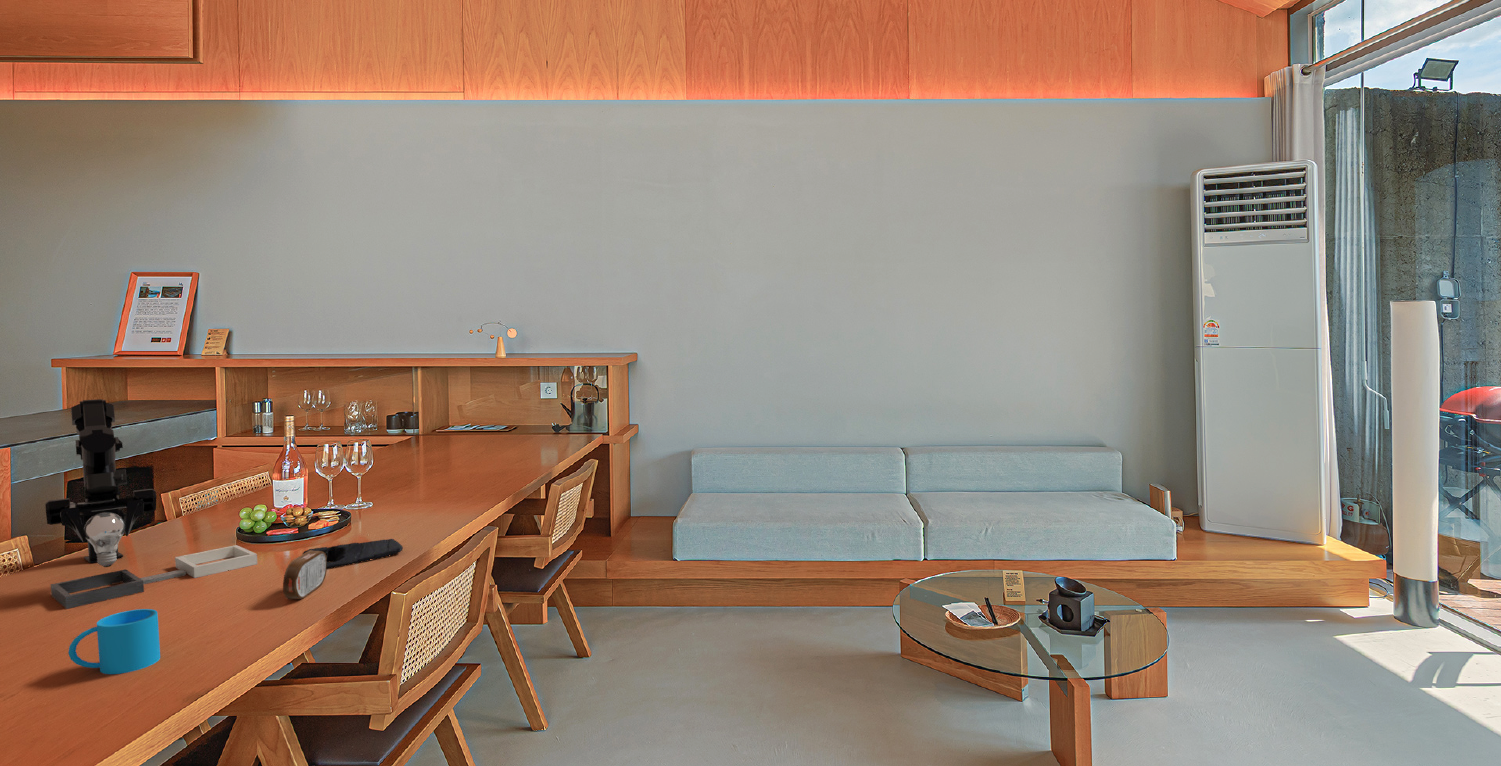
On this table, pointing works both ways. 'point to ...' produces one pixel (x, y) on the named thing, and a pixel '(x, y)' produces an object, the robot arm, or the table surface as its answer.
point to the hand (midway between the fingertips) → (105, 538)
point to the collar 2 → (240, 560)
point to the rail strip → (163, 576)
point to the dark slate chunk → (358, 552)
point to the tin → (304, 574)
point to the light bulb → (105, 536)
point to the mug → (123, 642)
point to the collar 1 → (69, 601)
